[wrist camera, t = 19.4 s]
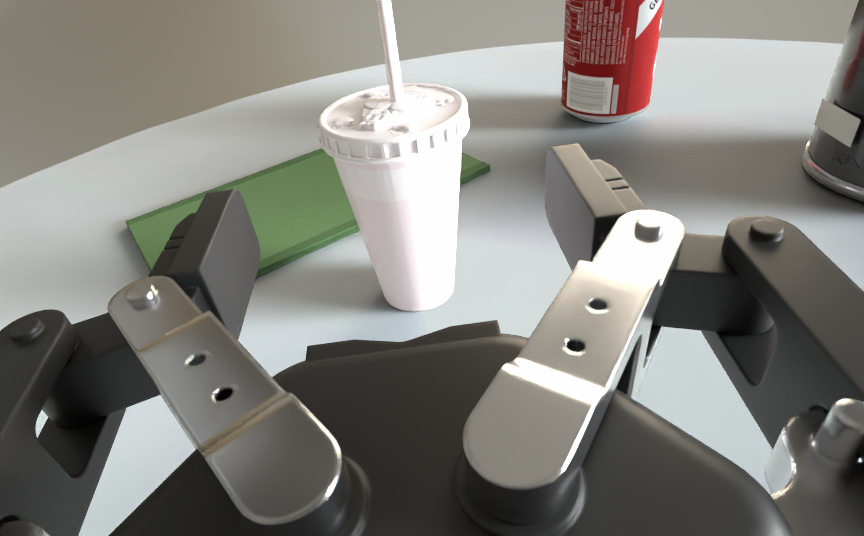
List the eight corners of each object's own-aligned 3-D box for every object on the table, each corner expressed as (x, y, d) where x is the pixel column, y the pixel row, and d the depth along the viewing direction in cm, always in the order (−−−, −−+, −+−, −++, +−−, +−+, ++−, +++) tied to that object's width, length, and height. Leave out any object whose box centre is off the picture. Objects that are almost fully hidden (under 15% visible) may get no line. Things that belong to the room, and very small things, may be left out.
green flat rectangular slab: (397, 125, 46) (396, 120, 45) (490, 170, 38) (490, 164, 37) (128, 226, 37) (125, 221, 36) (174, 315, 28) (170, 309, 28)
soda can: (609, 135, 40) (628, -50, 33) (543, 112, 45) (547, -54, 37) (666, 108, 43) (695, -68, 36) (598, 89, 47) (612, -70, 40)
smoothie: (496, 263, 29) (487, -28, 21) (451, 343, 25) (414, 16, 16) (393, 243, 32) (346, -23, 23) (334, 314, 27) (249, 16, 19)
